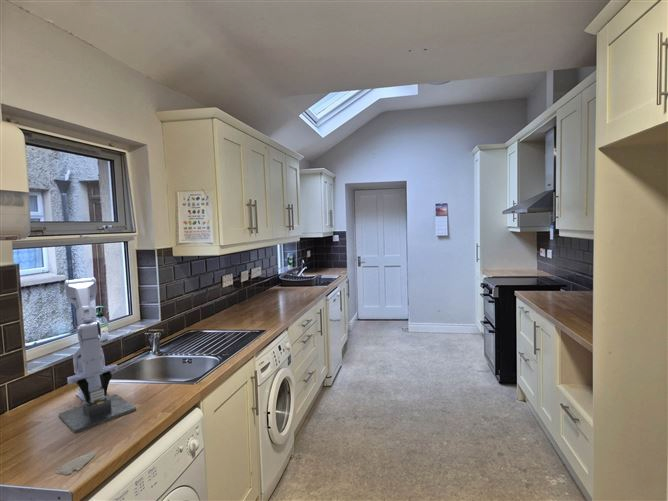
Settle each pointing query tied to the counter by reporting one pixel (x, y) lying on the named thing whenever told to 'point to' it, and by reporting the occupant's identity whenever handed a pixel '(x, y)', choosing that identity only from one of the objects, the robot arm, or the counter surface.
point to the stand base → (96, 413)
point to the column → (96, 394)
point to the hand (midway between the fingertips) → (96, 397)
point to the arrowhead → (75, 464)
